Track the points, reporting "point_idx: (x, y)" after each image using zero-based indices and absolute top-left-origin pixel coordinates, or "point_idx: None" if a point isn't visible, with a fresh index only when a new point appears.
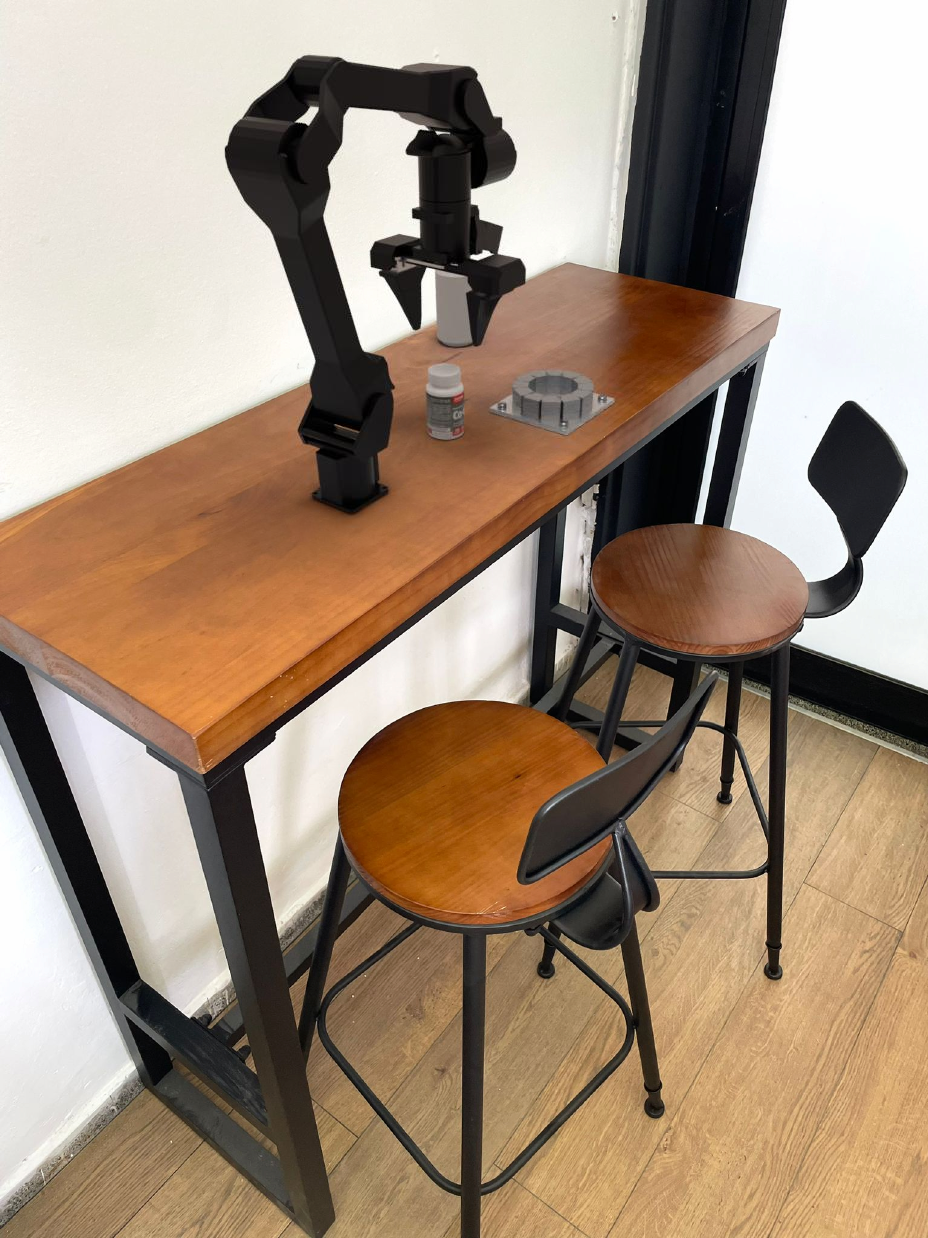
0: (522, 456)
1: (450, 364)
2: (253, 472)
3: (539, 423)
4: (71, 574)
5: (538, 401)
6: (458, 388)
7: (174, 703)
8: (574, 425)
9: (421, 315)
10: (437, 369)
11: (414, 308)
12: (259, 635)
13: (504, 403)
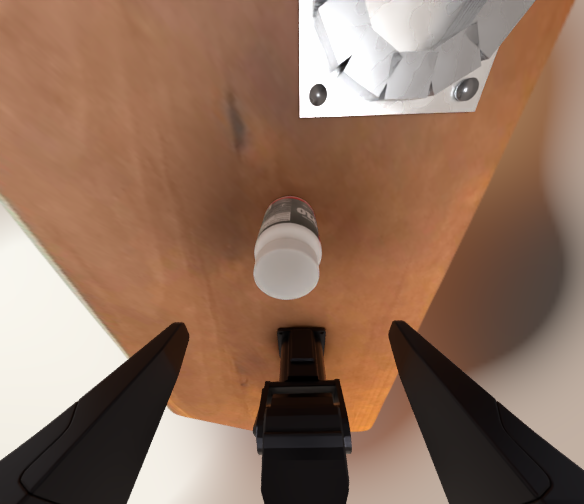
0: (415, 214)
1: (279, 253)
2: (214, 352)
3: (413, 113)
4: (246, 419)
5: (425, 97)
6: (319, 258)
7: (352, 429)
8: (487, 74)
9: (161, 351)
10: (276, 283)
11: (151, 401)
12: (353, 410)
13: (321, 89)
